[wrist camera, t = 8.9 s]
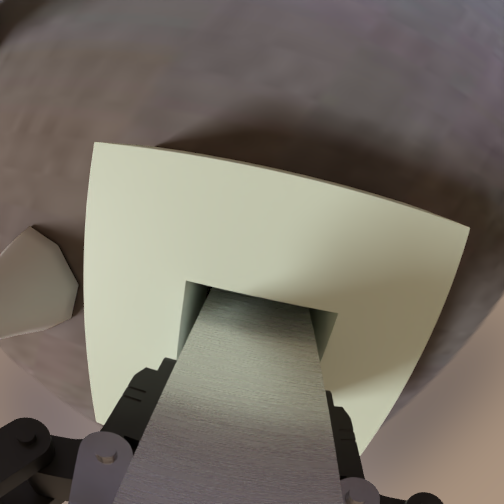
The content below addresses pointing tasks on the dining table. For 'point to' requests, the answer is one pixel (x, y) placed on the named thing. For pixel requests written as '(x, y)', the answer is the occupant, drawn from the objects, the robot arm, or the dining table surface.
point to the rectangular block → (240, 414)
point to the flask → (34, 285)
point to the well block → (258, 268)
